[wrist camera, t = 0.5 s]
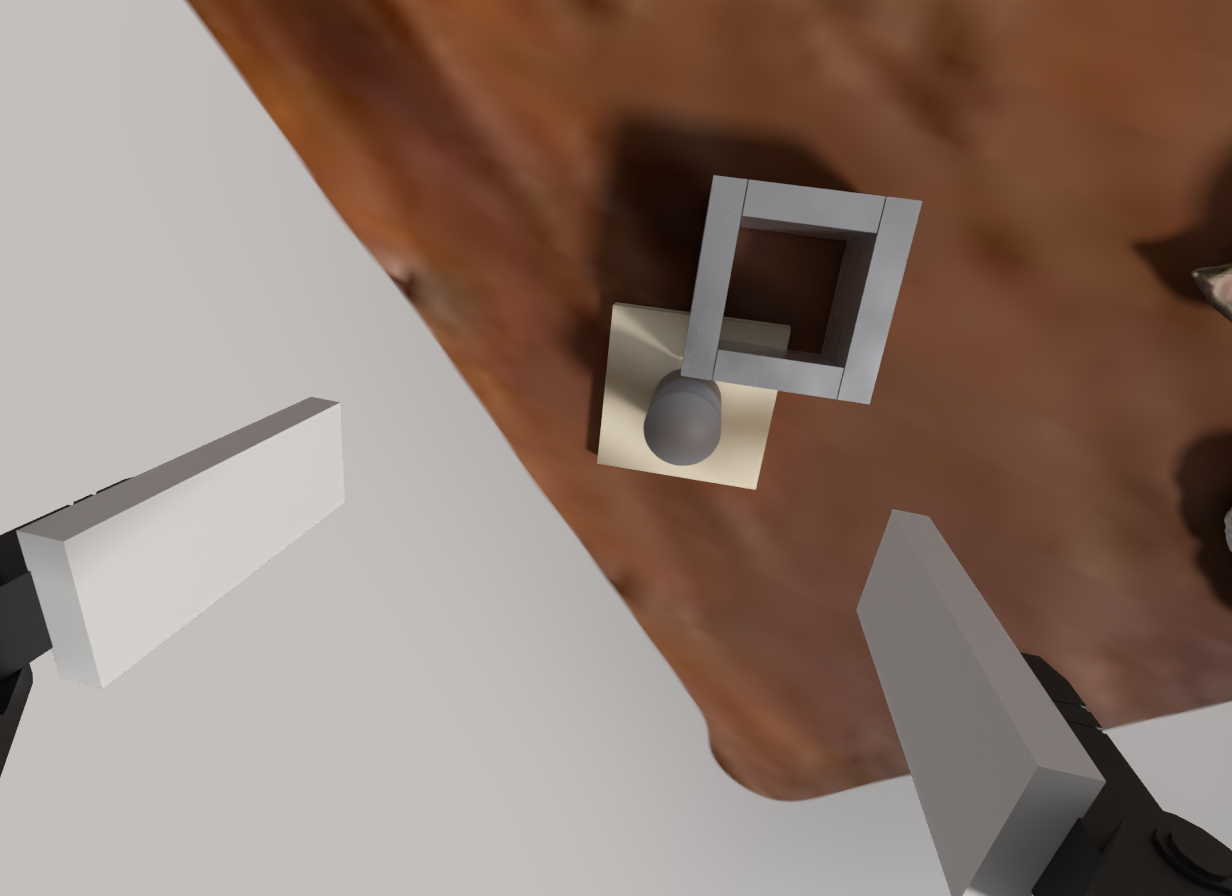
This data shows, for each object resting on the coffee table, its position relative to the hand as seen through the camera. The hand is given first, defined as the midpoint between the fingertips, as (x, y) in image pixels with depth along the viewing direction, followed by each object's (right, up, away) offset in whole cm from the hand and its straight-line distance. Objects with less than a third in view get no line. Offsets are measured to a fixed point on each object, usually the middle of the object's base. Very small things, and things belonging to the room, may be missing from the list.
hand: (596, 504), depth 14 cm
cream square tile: (+5, +4, +22) cm, 23 cm away
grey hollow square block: (+9, +10, +18) cm, 23 cm away
